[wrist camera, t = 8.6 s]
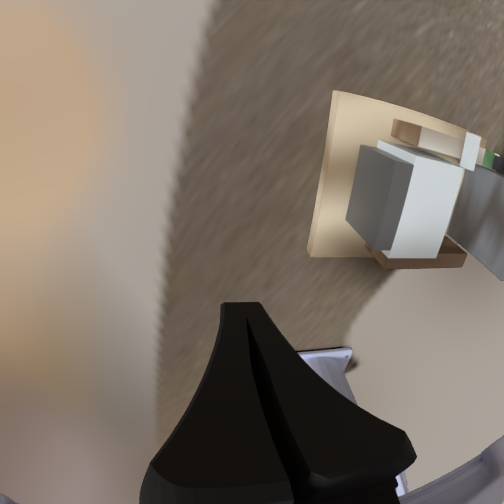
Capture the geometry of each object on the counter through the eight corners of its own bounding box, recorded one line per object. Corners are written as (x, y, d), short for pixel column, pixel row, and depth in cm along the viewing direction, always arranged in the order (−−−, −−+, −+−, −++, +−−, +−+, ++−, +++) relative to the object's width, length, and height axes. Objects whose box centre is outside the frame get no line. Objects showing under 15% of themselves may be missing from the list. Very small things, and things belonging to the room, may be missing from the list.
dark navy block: (496, 170, 15) (512, 178, 14) (492, 168, 15) (508, 176, 14) (499, 156, 15) (515, 164, 13) (495, 154, 14) (511, 162, 13)
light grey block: (414, 230, 21) (445, 258, 17) (343, 226, 19) (371, 258, 16) (440, 124, 16) (481, 137, 13) (367, 101, 15) (405, 109, 12)
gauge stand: (445, 252, 24) (500, 304, 17) (306, 249, 22) (350, 327, 15) (478, 136, 18) (552, 167, 12) (332, 90, 16) (411, 99, 9)
